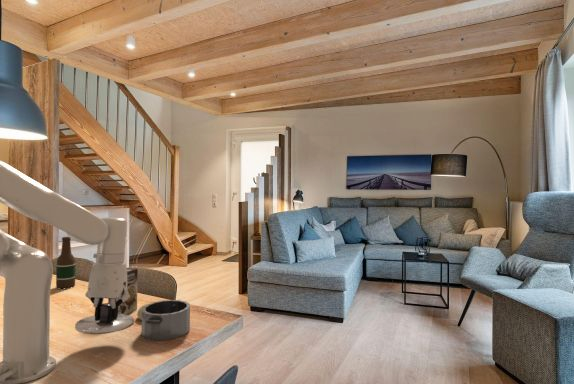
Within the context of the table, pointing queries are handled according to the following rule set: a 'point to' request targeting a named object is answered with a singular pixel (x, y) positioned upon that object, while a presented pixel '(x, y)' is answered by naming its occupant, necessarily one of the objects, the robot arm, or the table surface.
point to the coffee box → (132, 290)
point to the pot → (165, 320)
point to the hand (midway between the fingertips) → (105, 319)
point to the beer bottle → (65, 266)
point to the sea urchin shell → (140, 312)
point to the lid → (104, 322)
